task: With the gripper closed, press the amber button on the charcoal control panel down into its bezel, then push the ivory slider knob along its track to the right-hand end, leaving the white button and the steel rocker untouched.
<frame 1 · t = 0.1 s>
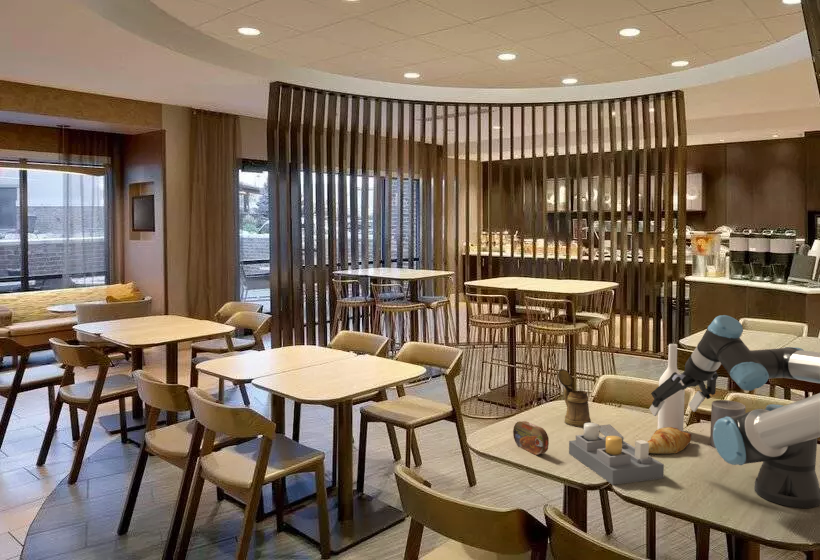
hand: (672, 410, 187), 15 cm above the table, tool tilted 35°, fingers open, 13 cm apart
rocker: (611, 433, 193), point 6 cm above the table, hinge at -12.0°
panel: (613, 465, 185), on the table
wooden mug: (573, 421, 226), on the table
tin: (530, 450, 198), on the table
croissant: (666, 449, 199), on the table
bottle: (670, 432, 214), on the table
white button: (591, 431, 189), point 9 cm above the table, slide at 0.0 cm
slider knob: (641, 450, 178), point 7 cm above the table, slide at 0.0 cm
pillar candle: (726, 447, 200), on the table
amber button: (613, 445, 178), point 9 cm above the table, slide at 0.0 cm
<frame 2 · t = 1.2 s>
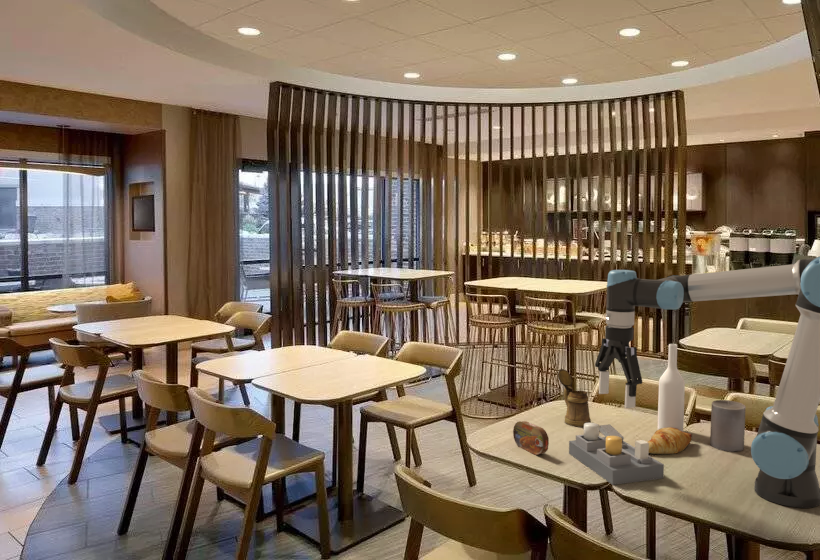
hand: (616, 400, 177), 21 cm above the table, tool pointing down, fingers open, 13 cm apart
nothing on the table moved.
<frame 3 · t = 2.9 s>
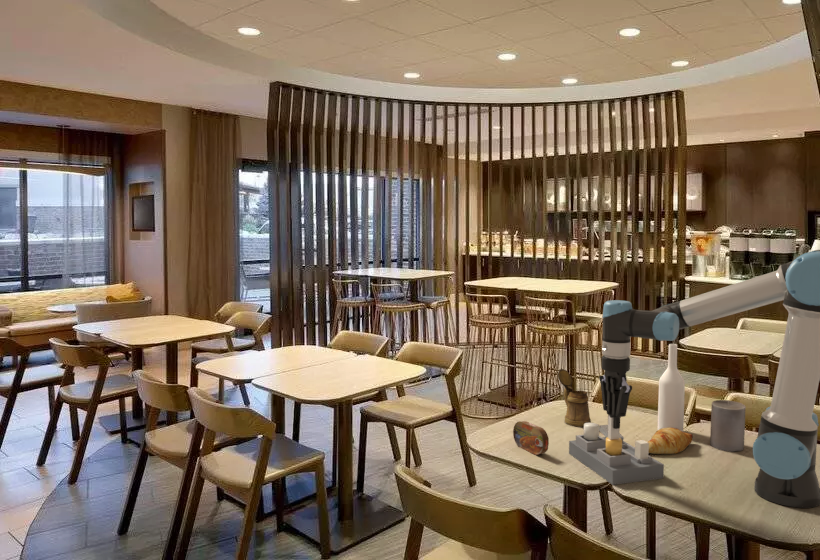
hand: (613, 438, 178), 11 cm above the table, tool pointing down, fingers closed
amber button: (613, 446, 178), point 8 cm above the table, slide at 0.3 cm, touching gripper
everything else where it was.
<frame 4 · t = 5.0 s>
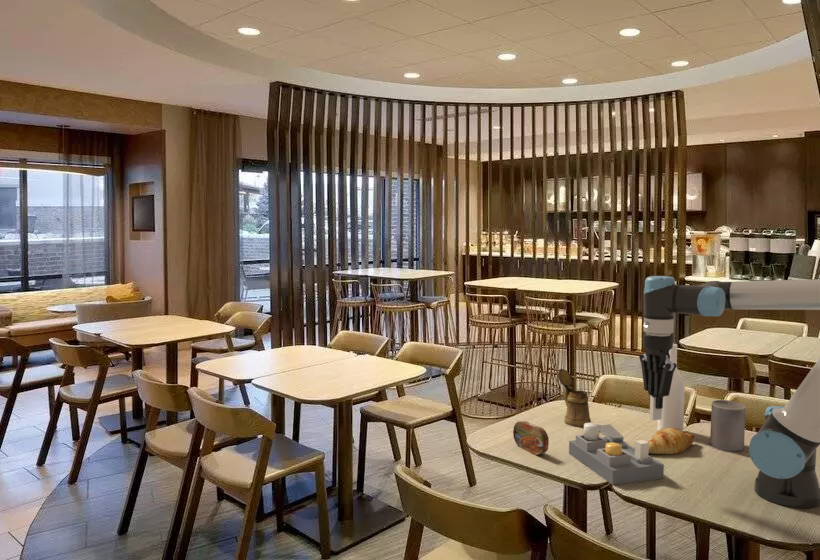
hand: (655, 419, 172), 18 cm above the table, tool pointing down, fingers closed
amber button: (613, 452, 178), point 7 cm above the table, slide at 2.0 cm
everything else where it was.
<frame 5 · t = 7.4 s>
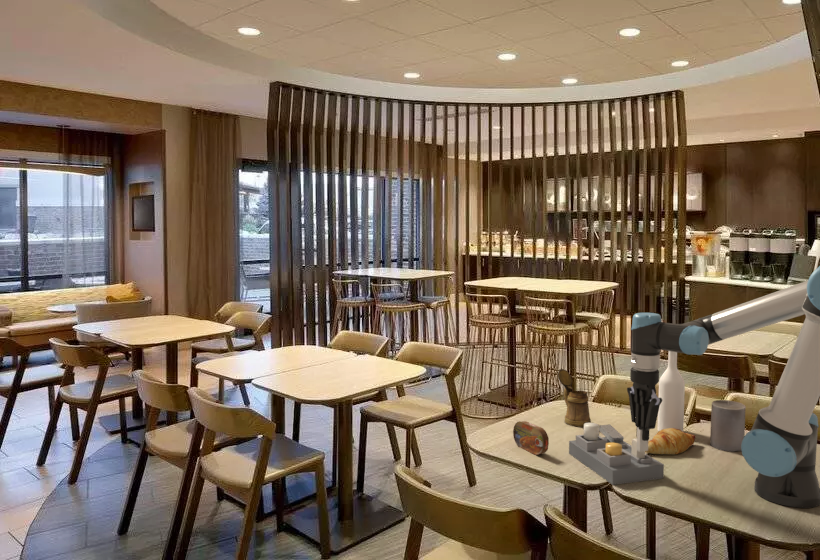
hand: (642, 450, 178), 7 cm above the table, tool pointing down, fingers closed
slider knob: (638, 448, 180), point 7 cm above the table, slide at 1.6 cm, touching gripper
everything else where it was.
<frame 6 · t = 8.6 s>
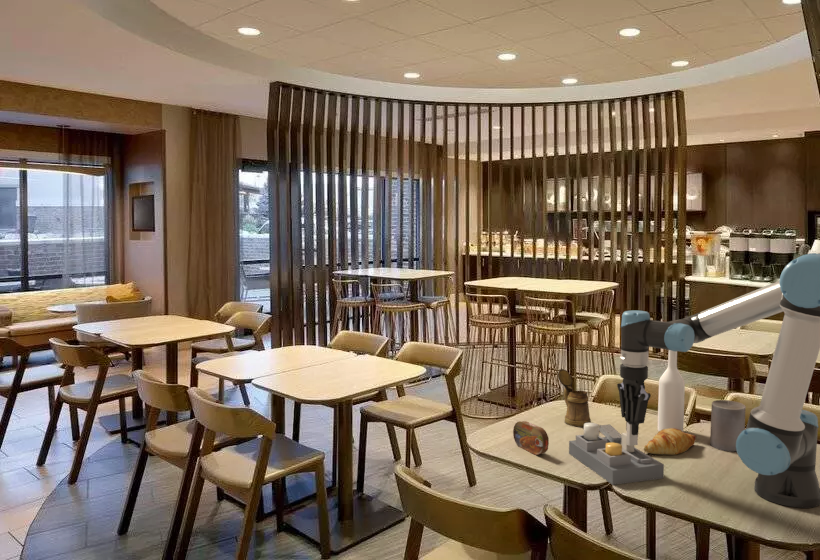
hand: (631, 444, 183), 7 cm above the table, tool pointing down, fingers closed
slider knob: (627, 442, 185), point 7 cm above the table, slide at 6.7 cm, touching gripper
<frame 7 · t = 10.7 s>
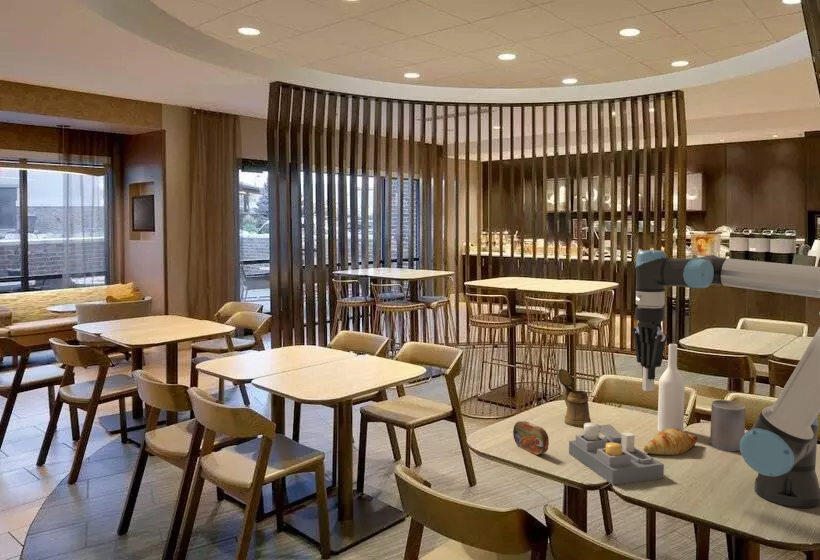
hand: (648, 389, 176), 24 cm above the table, tool pointing down, fingers closed
slider knob: (627, 442, 185), point 7 cm above the table, slide at 6.7 cm
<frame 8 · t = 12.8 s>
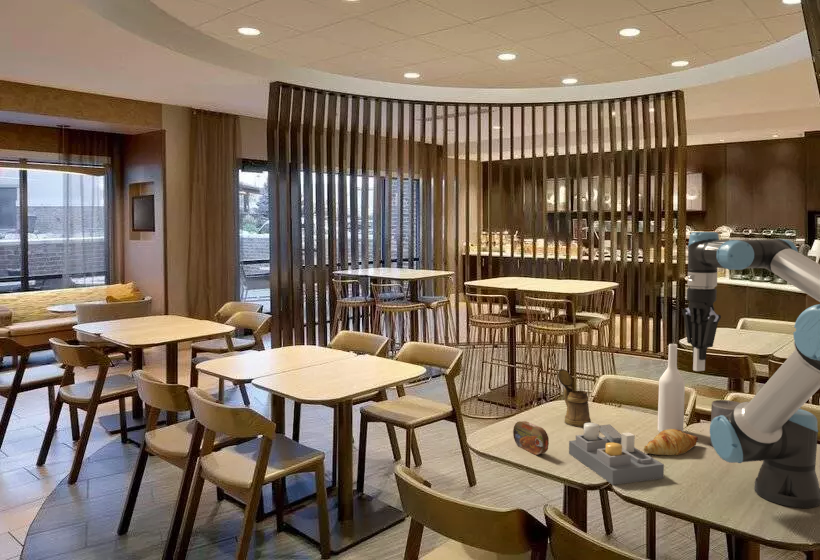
hand: (698, 370, 178), 29 cm above the table, tool pointing down, fingers closed
at the end: amber button slide at 2.0 cm; slider knob slide at 6.7 cm; white button slide at 0.0 cm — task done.
